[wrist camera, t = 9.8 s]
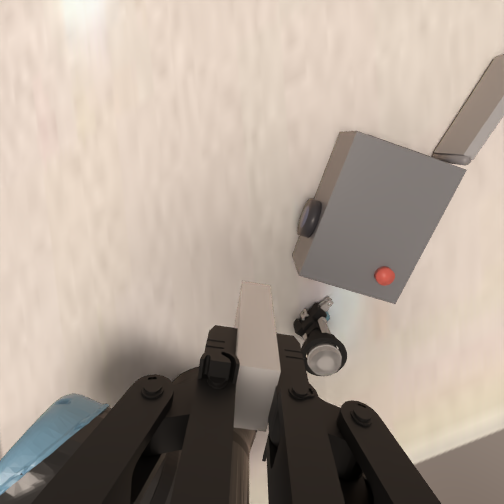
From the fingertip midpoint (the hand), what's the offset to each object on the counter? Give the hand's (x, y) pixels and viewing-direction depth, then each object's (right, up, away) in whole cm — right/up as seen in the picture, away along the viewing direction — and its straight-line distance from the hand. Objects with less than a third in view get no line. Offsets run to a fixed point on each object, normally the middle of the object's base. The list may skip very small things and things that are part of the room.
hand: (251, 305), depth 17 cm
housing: (+13, +8, +23) cm, 28 cm away
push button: (+9, -6, +28) cm, 30 cm away
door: (+24, +18, +19) cm, 36 cm away
